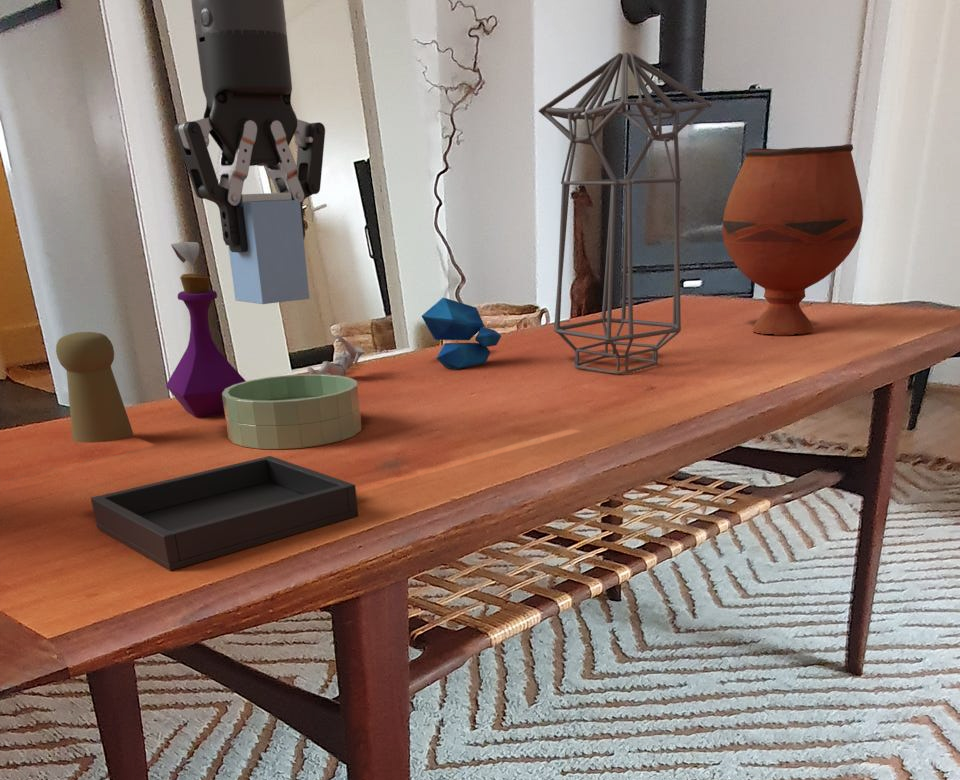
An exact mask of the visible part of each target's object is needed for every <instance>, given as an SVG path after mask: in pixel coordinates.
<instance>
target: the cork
mask: <svg viewBox="0 0 960 780" xmlns="http://www.w3.org/2000/svg"><path fill="white" fill-rule="evenodd" d="M55 347H56V348H55V353H56V358H57V360H58V362H59V364H60V365H61V367H62V368H64V370H65V371H66V378H67V379H66V380H67V391H68V403H69V413H70V415H69V416H70V426H71V437H72V438H71V439H72V440H73V441H75V442H77V443H86V444H87V443H89V444H90V443H104V442H110V441H111V442H112V441H116V440H120V439H124V438H127V437H129V436H131V437H135V435H134V431H133V428H132V424H131V423H130V422H131V421H130V419H129V416H128V413H127V411H126V407H125V404H124V401H123V398H122V395H121V392H120V389H119V386H118V383H117V381H116V378H115V374H114V372H113V369H112V365H113V362H114V360H115V350H114V345H113V344H112V341H111V340H110V339H109V337H108V336H107V335H105V334H103V333H101V332H95V331H78V332H73V333H69V334H66V335H63V336H62V337H60V338H59V339H58V340H57V343H56V344H55Z"/></svg>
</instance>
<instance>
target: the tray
mask: <svg viewBox="0 0 960 780" xmlns="http://www.w3.org/2000/svg"><path fill="white" fill-rule="evenodd" d="M90 501H91V502H90V503H91V506H92V510H93V515H94V519H95V524H96V529H97V530H99V531H100V532H102V533H104V534H106V535H107V536H109V537H111V538H112V539H114V540H116V541H118V542H119V543H121V544H123V545H125V546H127V547H128V548H130V549H131V550H133V551H135V552H137V553H138V554H140V555H141V556H144V557H146V558H147V559H149V560H151V561H152V562H154V563H156V564H157V565H160V566H161V567H162V568H165V569H166V570H168V571H170V572H172V571H175V570H178V569H181V568H185V567H189V566H192V565H195V564H199V563H202V562H207V561H210V560H213V559H215V558H220V557H222V556H226V555H229V554H232V553H236V552H239V551H240V552H241V551H243V550H246V549H250V548H254V547H257V546H260V545H264V544H266V543H271V542H273V541H277V540H280V539H284V538H287V537H290V536H293V535H294V536H295V535H298V534H300V533H304V532H307V531H311V530H314V529H318V528H321V527H325V526H328V525H331V524H335V523H338V522H342V521H344V520H348V519H352V518H355V517H358V516H359V509H358V501H357V489H356V484H354V483H351V482H348V481H345V480H342V479H340V478H336V477H334V476H330V475H328V474H325V473H321V472H318V471H316V470H313V469H310V468H308V467H304V466H301V465H298V464H295V463H292V462H289V461H286V460H283V459H281V458H278V457H274V456H272V455H267V456H264V457H263V456H262V457H259V458H255V459H250V460H246V461H242V462H237V463H233V464H228V465H226V466H221V467H216V468H211V469H209V470H208V469H207V470H204V471H199V472H195V473H191V474H190V473H189V474H187V475H182V476H178V477H173V478H170V479H166V480H161V481H157V482H152V483H148V484H143V485H140V486H135V487H131V488H127V489H124V490H119V491H115V492H114V491H113V492H110V493H105V494H102V495H97V496H93V497H90Z"/></svg>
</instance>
